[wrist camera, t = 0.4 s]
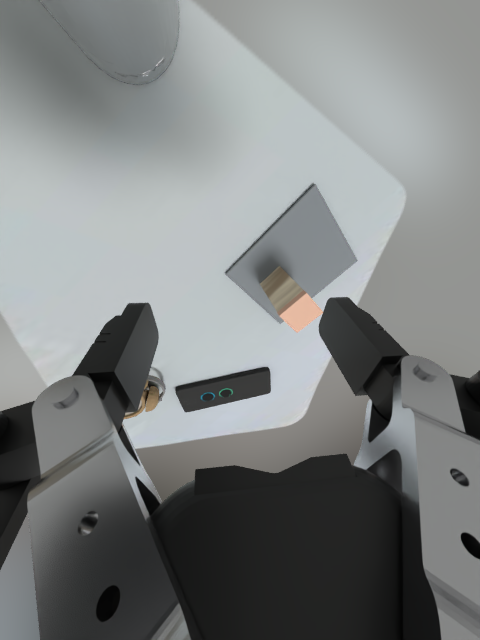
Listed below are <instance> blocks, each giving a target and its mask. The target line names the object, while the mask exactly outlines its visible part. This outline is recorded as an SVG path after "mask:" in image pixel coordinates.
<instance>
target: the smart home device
mask: <svg viewBox="0 0 480 640" xmlns="http://www.w3.org/2000/svg"><path fill="white" fill-rule="evenodd" d="M270 392H271V385H270V370H269V368H268V367H265V368H260V369H255V370H250V371H246V372H241V373H237V374H232V375H228V376H223V377H218V378H214V379H209V380H205V381H200V382H195V383H191V384H186V385H182V386H178V387H177V388H176V395H177V397H178V399H179V401H180V403H181V405H182V407H183V409H184V411H185V412H191V411H195V410H200V409H204V408H208V407H213V406H217V405H221V404H226V403H230V402H234V401H238V400H243V399H247V398H251V397H256V396H260V395H264V394H268V393H270Z"/></svg>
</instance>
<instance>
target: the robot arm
mask: <svg viewBox="0 0 480 640" xmlns="http://www.w3.org/2000/svg"><path fill="white" fill-rule="evenodd" d="M39 1H40V2H41V3H42V4H43V5H44V7H45V8H46V9H47V10H48V11H49V12H50V14H51V15H52V16H53V17H54V18H55V19H56V21H57V22H58V23H59V24H60V25H61V26H62V28H63V29H64V30H65V31H66V32H67V33H68V35H69V36H70V37H71V38H72V39H73V40H74V42H75V43H76V44H77V45H78V46H79V47H80V48H81V50H82V51H83V52H84V53H85V54H86V55H87V56H88V57H89V58H90V59H91V60H92V61H93V62H94V63H95V64H96V65H97V66H98V67H99V68H100V69H101V70H103V71H104V72H106V73H107V74H108V75H110V76H111V77H113V78H115V79H117V80H120V81H122V82H124V83H129V84H136V85H138V84H145V83H149V82H151V81H153V80H155V79H157V78H158V77H159V76H160V75H161V74H162V73H163V72H164V71H165V70H166V69H167V67H168V65H169V64H170V62H171V60H172V58H173V55H174V52H175V49H176V46H177V40H178V33H179V3H178V0H39ZM319 333H320V336H321V338H322V340H323V341H324V343H325V345H326V346H327V348H328V350H329V351H330V353H331V355H332V357H333V358H334V360H335V362H336V363H337V365H338V367H339V369H340V370H341V372H342V374H343V375H344V377H345V379H346V380H347V382H348V384H349V385H350V387H351V389H352V391H353V392H354V394H355V396H359V395H368V396H369V397H370V400H369V402H368V404H367V410H366V418H365V425H364V432H363V439H362V440H363V441H362V446H361V449H360V452H359V454H358V456H357V458H356V461H355V463H354V466H353V465H351V463H350V461H349V458H348V456H347V454H339V455H329V456H320V457H311V458H309V459H307V460H305V461H303V462H300V463H298V464H296V465H294V466H292V467H290V468H288V469H286V470H284V471H282V472H279V473H269V472H263V471H259V470H254V469H249V468H245V467H240V466H235V465H234V466H224V467H216V468H206V469H196V471H195V480H193V481H191V482H189V483H187V484H185V485H184V486H182V487H180V488H179V489H177V490H176V491H175V492H174V493H172V494H171V495H170V496H169V497H168V498H167V499H166V500H164V502H162V501H161V499H160V497H159V495H158V493H157V491H156V489H155V487H154V485H153V483H152V481H151V480H150V478H149V476H148V475H147V473H146V471H145V469H144V467H143V465H142V463H141V461H140V459H139V457H138V455H137V453H136V450H135V448H134V446H133V444H132V442H131V440H130V438H129V436H128V433H127V431H126V429H125V427H124V425H123V423H122V422H123V419H124V416H125V413H128V412H137V411H138V408H139V404H140V401H141V398H142V394H143V391H144V388H145V384H146V381H147V378H148V374H149V371H150V368H151V364H152V361H153V358H154V354H155V351H156V348H157V345H158V329H157V326H156V322H155V319H154V316H153V312H152V309H151V306H150V304H149V303H129V304H128V305H127V306H126V308H125V310H124V311H123V313H122V315H121V316H115V317H114V318H113V319H111V320H110V321H109V322H107V323H106V324H105V326H104V327H103V329H102V330H101V332H100V335H98V337H97V338H96V340H95V341H94V342H95V343H94V344H92V346H91V347H90V349H89V351H88V352H87V354H86V355H85V357H84V358H83V360H82V361H81V363H80V364H79V366H78V368H77V369H76V371H75V372H74V374H73V375H72V376H71V377H67V378H64V379H62V380H59V381H57V382H56V383H54V384H52V385H51V386H49V387H48V388H47V389H45V390H44V391H43V392H42V393H41V394H40V395H39V396H38V398H37V399H36V401H33V402H29V403H26V404H23V405H20V406H17V407H13V408H10V409H7V410H4V411H0V570H1V567H2V565H3V563H4V561H5V559H6V557H7V555H8V552H9V550H10V549H11V546H12V544H13V542H14V540H15V538H16V536H17V534H18V531H19V529H20V528H21V526H22V523H23V521H24V519H25V517H26V515H27V513H28V518H29V528H30V538H31V549H32V558H33V570H34V580H35V590H36V600H37V610H38V621H39V631H40V640H480V371H479V372H477V373H476V374H475V375H474V376H472V377H471V378H465V377H459V376H455V375H450V374H448V373H447V372H446V370H445V369H443V368H442V367H441V366H439V365H438V364H436V363H435V362H433V361H431V360H429V359H426V358H423V357H420V356H413V355H409V354H408V353H407V352H406V351H405V350H404V349H403V348H402V347H401V346H400V345H399V344H398V343H397V342H396V341H395V340H394V339H393V338H392V337H391V336H390V335H389V334H388V333H387V332H386V331H384V329H383V327H381V326H380V324H377V321H375V319H374V318H373V317H372V316H371V315H370V314H368V313H367V312H365V311H364V310H362V309H360V308H358V307H357V306H356V305H355V304H354V303H353V302H352V300H351V299H350V298H348V297H336V298H329V299H328V301H327V303H326V306H325V309H324V312H323V315H322V317H321V320H320V323H319Z"/></svg>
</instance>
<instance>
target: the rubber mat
mask: <svg viewBox="0 0 480 640" xmlns="http://www.w3.org/2000/svg"><path fill="white" fill-rule="evenodd" d="M355 262H357V259H356V257H355V255H354V253H353V252H352V250H351V248H350V246H349V244H348V242H347V241H346V239H345V237H344V235H343V233H342V232H341V230H340V228H339V226H338V224H337V222H336V221H335V219H334V217H333V215H332V213H331V212H330V210H329V208H328V206H327V204H326V202H325V201H324V199H323V197H322V195H321V193H320V192H319V190H318V188H317V186H316V184H314V185H313V186H312V187H311V188H310V189H309V190H308V191H307V192H306V193H305V194H304V195H303V196H302V197H301V198H300V199H299V200H298V201H297V202H296V203H295V204H294V205H293V206H292V207H291V208H290V209H289V210H288V211H287V212H286V213H285V214H284V215H283V216H282V217H281V218H280V219H279V220H278V221H277V222H276V223H275V224H274V225H273V226H272V227H271V228H270V229H269V230H268V231H267V232H266V233H265V234H264V235H263V236H262V237H261V238H260V239H259V240H258V241H257V242H256V243H255V244H254V245H253V246H252V247H251V248H250V249H249V250H248V251H247V252H246V253H245V254H244V255H243V256H242V257H241V258H240V259H239V260H238V261H237V262H236V263H235V264H234V265H233V266H232V267H231V268H230V269H229V270H228V271H227V272H226V275H227V276H228V277H229V278H230V279H231V280H232V281H234V282H235V283H236V284H237V285H238V286H239V287H240V288H241V289H242V290H243V291H245V292H246V293H247V294H248V295H249V296H250V297H251V298H252V299H253V300H254V301H256V302H257V303H258V304H259V305H260V306H261V307H262V308H263V309H264V310H266V311H267V312H268V313H269V314H270V315H271V316H272V317H273V318H274V319H275V320H277V321H278V322H279V323H280V324H281V323H282V322H283V321H284V320H283V319H282V318H281V317H280V316H279V315H278V313H277V311H276V309H275V308H274V306H273V305H272V303H271V301H270V300H269V298H268V297H267V295H266V293H265V292H264V290H263V289H262V287H261V285H260V283H261V282H262V281H264V280H265V279H266V278H267V277H268V276H269V275H270V274H271V273H272V272H273V271H274V270H275V269H276V268H278V267H279V266H280V267H281V268H282V269H283V270H284V271H285V272H286V273H287V274H288V275H289V276H290V277H291V278H292V279H293V280H294V281H295V282H296V283H297V284H298V285H299V286H300V287H301V288H302V289H303V290H304V291H305V292H306V293H307V294H308V295H309V296H310V297H311V298H313V297H314V296H315V295H316V294H318V293H319V292H320V291H321V290H322V289H324V288H325V287H326V286H327V285H329V284H330V283H331V282H332V281H333V280H335V279H336V278H337V277H338V276H340V275H341V274H342V273H343V272H344V271H346V270H347V269H348V268H349V267H350V266H352V265H353V264H354V263H355Z"/></svg>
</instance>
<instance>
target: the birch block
mask: <svg viewBox="0 0 480 640" xmlns="http://www.w3.org/2000/svg"><path fill="white" fill-rule="evenodd" d="M260 285H261V287H262V289H263V290H264V292H265V293H266V295H267V297H268V298H269V300H270V301H271V303H272V305H273V306H274V308H275V309H276V311H277V313H278V315H279V316H280V317H281V318H282V319H283V320H284V321H285V322H286V323H287V324H288V325H289V326H290V327H291V328H292V329H293V330H295V331H296V332H297V333H298V332H299V331H300V330H301V329H303V328H304V327H305V326H307V325H308V324H309V323H310V322H312V321H313V320H314V319H316V318H317V317H318V316H319V315H321V314H322V313H323V312H322V310H321V309H320V308H319V307H318V306H317V304H316V303H315V302H314V301H313V300H312V298H311V297H310V296H309V295H308V294H307V293H306V292H305V291H304V290H303V289H302V288H301V287H300V286H299V285H298V284H297V283H296V282H295V281H294V280H293V279H292V278H291V277H290V276H289V275H288V274H287V273H286V272H285V271H284V270H283V269H282V268H281V267H280V266H279V267H278V268H276V269H275V270H274V271H273V272H272V273H271V274H270V275H269V276H268V277H267V278H266V279H265V280H264V281H262V282H261V283H260Z"/></svg>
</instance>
